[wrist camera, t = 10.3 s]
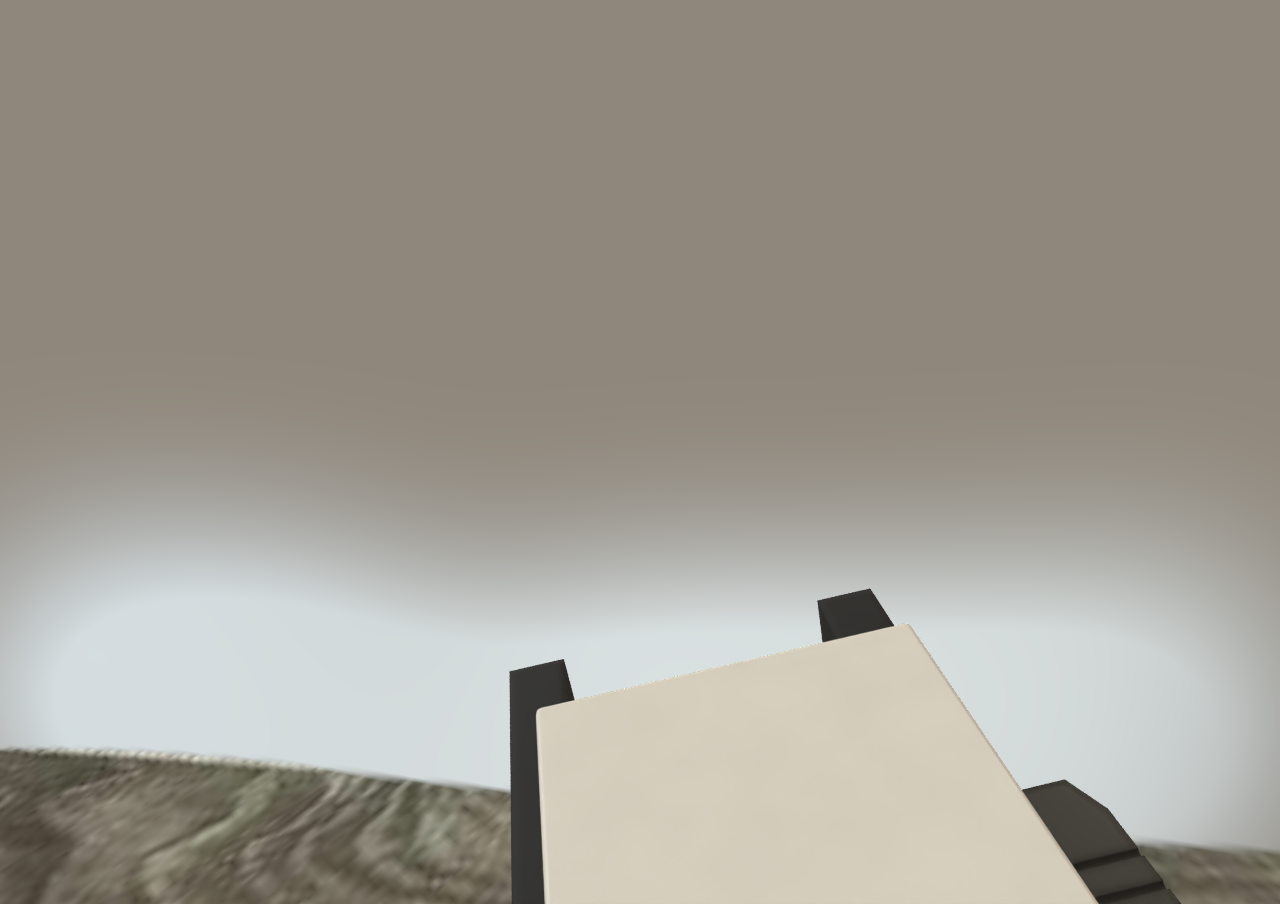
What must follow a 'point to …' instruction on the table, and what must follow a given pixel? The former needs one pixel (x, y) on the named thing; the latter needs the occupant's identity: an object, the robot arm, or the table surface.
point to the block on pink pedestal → (790, 789)
